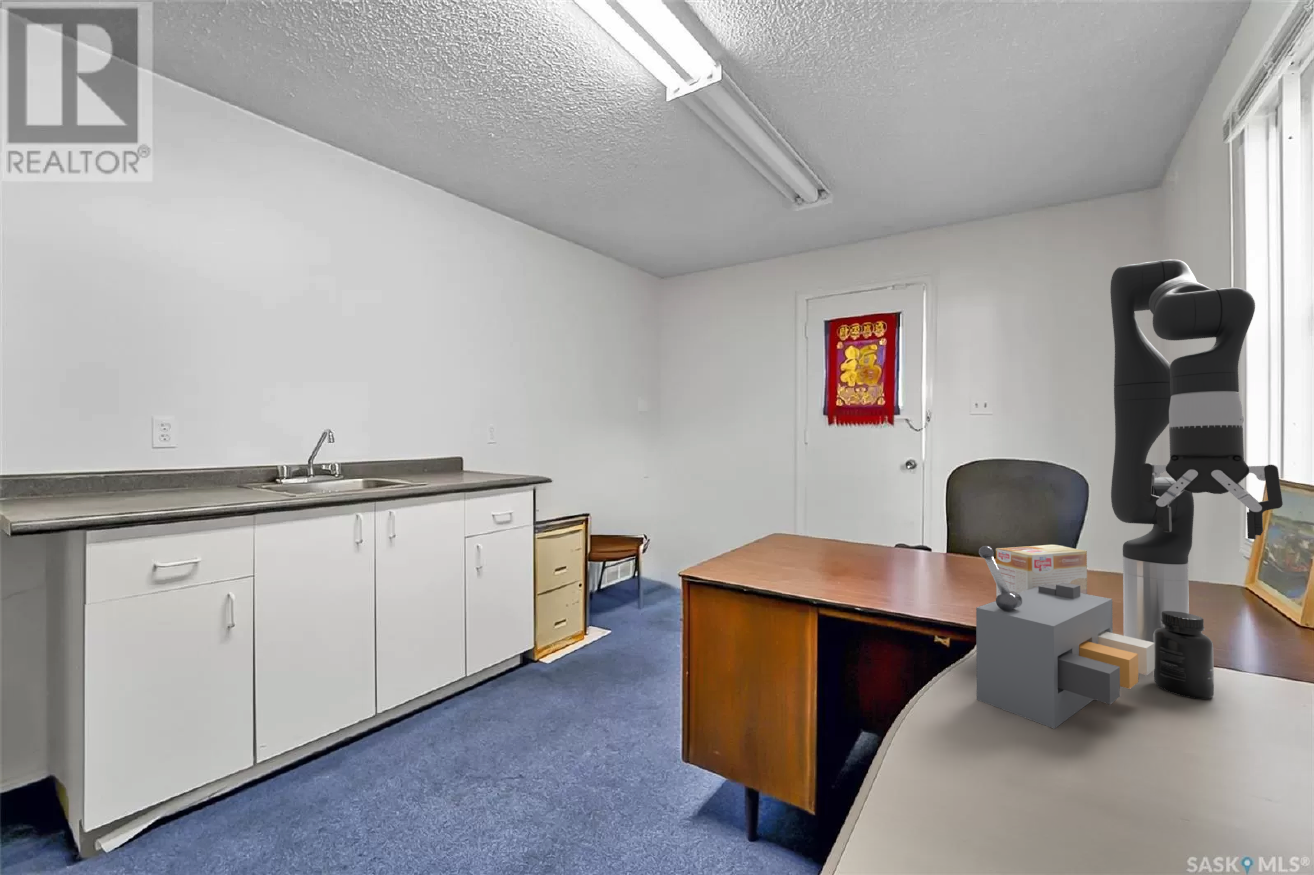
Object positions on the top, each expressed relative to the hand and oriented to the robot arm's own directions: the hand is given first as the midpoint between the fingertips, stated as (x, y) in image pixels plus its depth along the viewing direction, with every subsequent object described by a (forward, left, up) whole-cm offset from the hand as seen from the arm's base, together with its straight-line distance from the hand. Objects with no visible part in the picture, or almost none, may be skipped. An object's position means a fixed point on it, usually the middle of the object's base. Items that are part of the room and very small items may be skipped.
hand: (1208, 535), depth 77 cm
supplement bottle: (-8, -3, -26) cm, 28 cm away
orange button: (+10, -12, -21) cm, 26 cm away
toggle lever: (+18, -21, -12) cm, 30 cm away
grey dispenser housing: (+9, -18, -26) cm, 33 cm away
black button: (+18, -13, -21) cm, 31 cm away
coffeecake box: (-11, -22, -26) cm, 36 cm away
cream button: (+2, -10, -21) cm, 23 cm away
